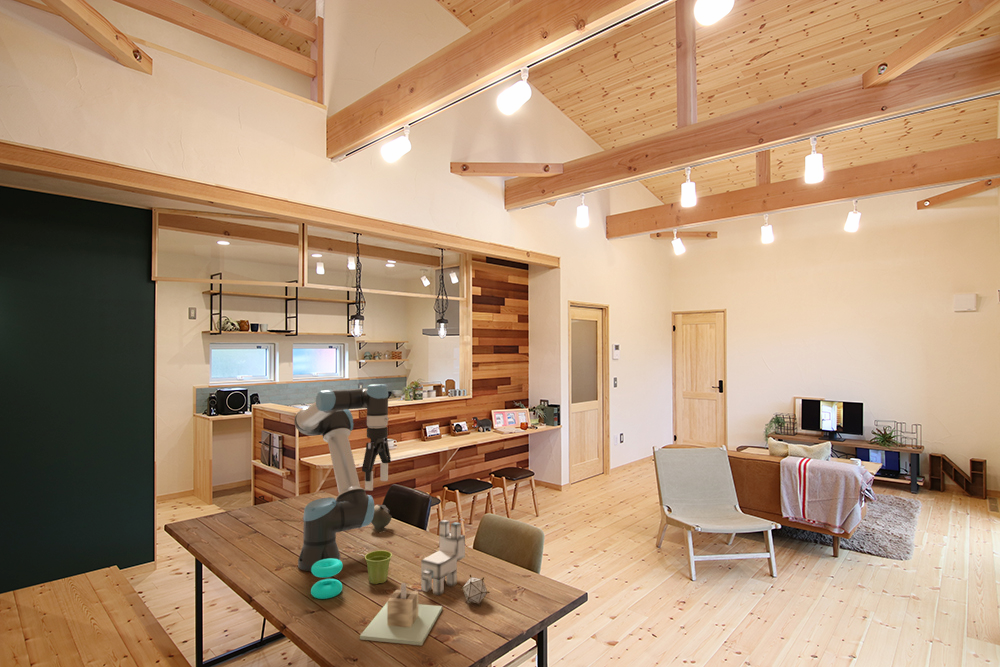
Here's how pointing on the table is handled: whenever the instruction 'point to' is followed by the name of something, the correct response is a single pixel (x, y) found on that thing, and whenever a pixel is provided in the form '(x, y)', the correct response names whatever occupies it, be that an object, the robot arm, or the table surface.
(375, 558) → the plant pot
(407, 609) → the bead
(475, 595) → the game die
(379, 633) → the stand
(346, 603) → the table surface
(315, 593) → the donuts
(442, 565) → the toy llama
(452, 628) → the table surface
